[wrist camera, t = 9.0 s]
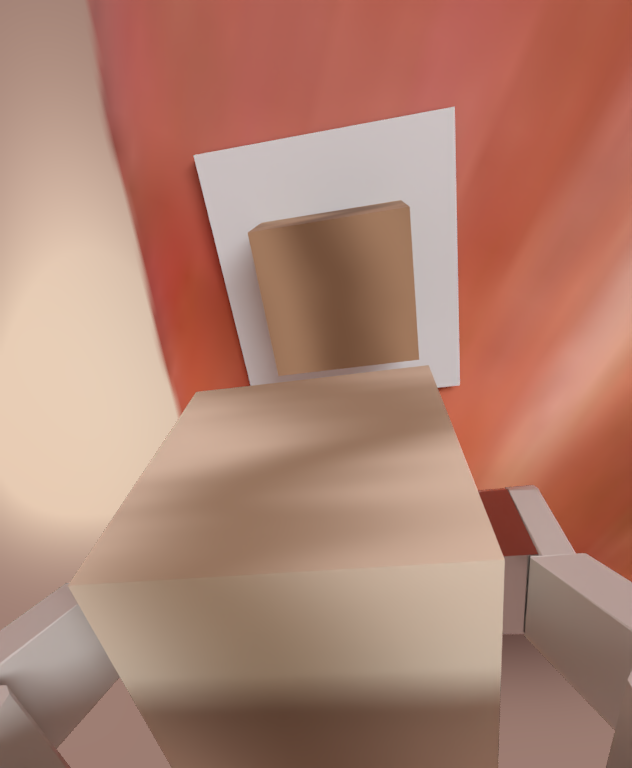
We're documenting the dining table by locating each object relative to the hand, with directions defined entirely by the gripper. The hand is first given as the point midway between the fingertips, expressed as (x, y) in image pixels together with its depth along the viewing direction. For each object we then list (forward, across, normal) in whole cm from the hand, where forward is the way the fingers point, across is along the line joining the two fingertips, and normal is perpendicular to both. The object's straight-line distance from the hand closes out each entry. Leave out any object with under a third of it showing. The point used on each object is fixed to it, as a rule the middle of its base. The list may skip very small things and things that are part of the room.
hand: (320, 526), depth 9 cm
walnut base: (+21, 0, 0) cm, 21 cm away
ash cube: (+2, 0, 0) cm, 2 cm away
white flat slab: (+21, 0, 0) cm, 21 cm away
